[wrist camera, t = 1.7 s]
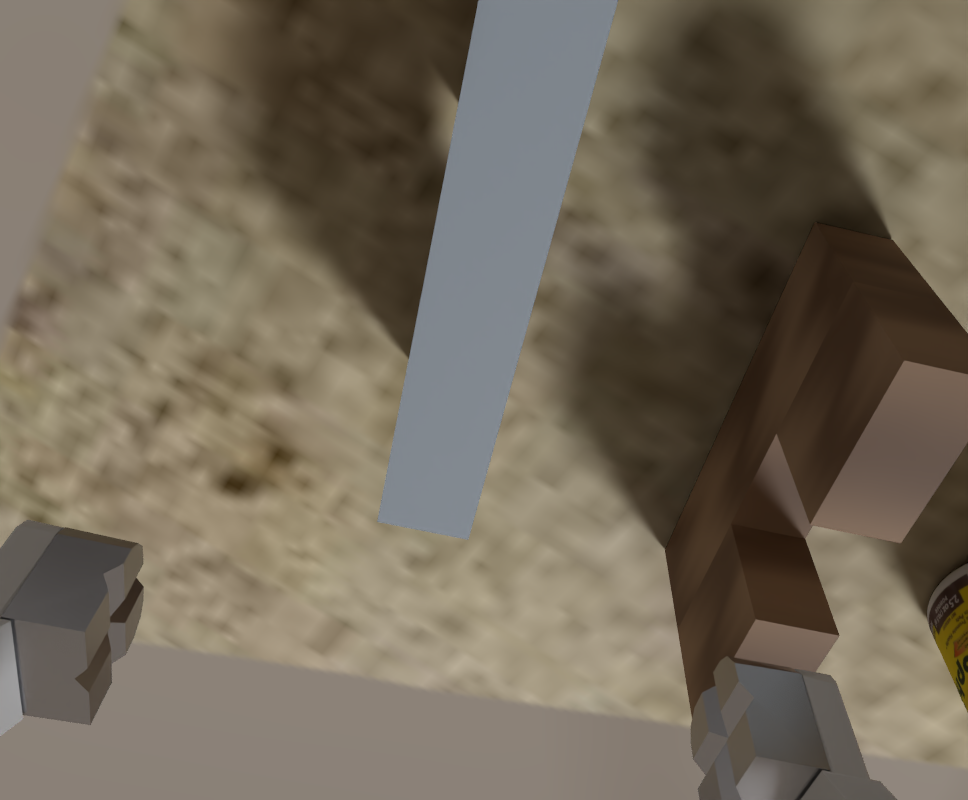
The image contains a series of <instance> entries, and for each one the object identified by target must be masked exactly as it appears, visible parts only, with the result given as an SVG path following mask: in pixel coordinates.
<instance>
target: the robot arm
mask: <svg viewBox="0 0 968 800" xmlns="http://www.w3.org/2000/svg"><path fill="white" fill-rule="evenodd" d="M142 565H143V546H142V545H140V544H139V543H135V542H130V541H126V540H121V539H116V538H112V537H107V536H103V535H98V534H94V533H89V532H84V531H80V530H75V529H71V528H66V527H65V528H64V527H59V526H54V525H50V524H45V523H40V522H36V521H31V520H26V521H25V522H23V523H22V524H20V525H19V526H17V527H16V528H15V529H14V531H13V532H12V533H11V535H10V536H9V537H8V539H7V540H6V542H5V543H4V544H3V546H2V547H1V548H0V736H1V735H2V734H4V733H5V732H6V731H8V730H9V729H10V728H12V727H13V726H14V725H16V724H17V723H18V722H20V721H21V720H22V719H23V715H27V716H34V717H41V718H47V719H55V720H61V721H68V722H74V723H81V724H88V725H91V723H92V721H93V719H94V717H95V715H96V713H97V711H98V709H99V707H100V705H101V703H102V701H103V699H104V697H105V695H106V693H107V691H108V689H109V687H110V685H111V683H112V663H113V662H115V661H116V660H118V659H120V658H121V657H123V656H124V655H126V653H127V651H128V649H129V647H130V644H131V643H132V640H133V638H134V636H135V633H136V630H137V626H138V623H139V620H140V617H141V612H142V606H143V594H144V587H143V585H142V584H141V583H140V582H139V581H138V579H137V578H136V577H137V575H138V573H139V571H140V569H141V567H142ZM713 674H714V679H715V684H716V686H714V687H712V688H710V689H708V690H706V691H704V692H702V694H701V696H700V698H699V700H698V702H697V704H696V706H695V708H694V713H693V718H692V723H691V748H692V754H693V760H694V761H695V762H696V763H697V764H698V766H699V767H700V768H701V770H702V771H703V772H704V774H705V775H706V776H705V777H704V779H703V781H702V783H701V784H700V786H699V788H698V792H699V799H700V800H897V799H896V798H895V797H894V796H893V795H892V793H891V792H890V791H888V789H887V788H886V787H885V786H884V785H883V784H882V783H881V782H880V781H876V780H871V779H870V778H869V775H868V772H867V770H866V767H865V764H864V761H863V758H862V755H861V752H860V749H859V746H858V743H857V740H856V738H855V735H854V732H853V729H852V726H851V723H850V720H849V717H848V715H847V712H846V709H845V706H844V703H843V700H842V697H841V694H840V692H839V689H838V686H837V683H836V681H835V680H834V679H833V678H832V677H831V675H827V674H821V673H816V672H811V671H805V670H800V669H792V668H791V667H785V666H779V665H774V664H768V663H763V662H757V661H752V660H746V659H741V658H735V657H730V656H726V657H725V658H723V659H722V660H721V661H720V662H719V664H718V665H717V667H716V669H715V670H714V672H713Z"/></svg>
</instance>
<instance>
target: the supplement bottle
mask: <svg viewBox="0 0 968 800" xmlns="http://www.w3.org/2000/svg"><path fill="white" fill-rule="evenodd" d="M927 618H928V624H929V627H930V630H931V632H932V634H933V637H934V639H935V641H936V644H937V646H938V648H939V650H940V652H941V654H942V656H943V659H944V661H945V663H946V665H947V667H948V670H949V672H950V674H951V676H952V678H953V681H954V683H955V685H956V687H957V689H958V692H959V694H960V697H961V699H962V701H963V703H964V705H965V707H966V709H967V712H968V563H967V564H965V565H963V566H961V567H960V568H958V569H956V570H955V571H953V572H952V573H951V574H949V575H948V576H947V577H946V578H945V579H944V580H943V581H942V582H941V583H940V584H939V585H938V586H937V588H936V589H935V590H934V592H933V594H932V596H931V598H930V601H929V604H928V610H927Z"/></svg>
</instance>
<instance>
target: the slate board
mask: <svg viewBox="0 0 968 800" xmlns="http://www.w3.org/2000/svg"><path fill="white" fill-rule="evenodd" d="M617 2H618V0H478V5H477V11H476V16H475V21H474V26H473V31H472V36H471V42H470V47H469V52H468V57H467V62H466V67H465V73H464V78H463V83H462V88H461V93H460V98H459V103H458V109H457V114H456V119H455V124H454V129H453V134H452V140H451V145H450V150H449V155H448V160H447V165H446V170H445V176H444V181H443V186H442V191H441V196H440V201H439V207H438V212H437V217H436V222H435V227H434V232H433V237H432V243H431V248H430V253H429V258H428V263H427V268H426V274H425V279H424V284H423V289H422V294H421V299H420V304H419V310H418V315H417V320H416V325H415V330H414V335H413V341H412V346H411V351H410V356H409V361H408V366H407V371H406V377H405V382H404V387H403V392H402V397H401V402H400V408H399V413H398V418H397V423H396V428H395V433H394V438H393V444H392V449H391V454H390V459H389V464H388V469H387V475H386V480H385V485H384V490H383V495H382V500H381V505H380V511H379V516H378V521H377V522H381V523H386V524H391V525H396V526H401V527H406V528H411V529H416V530H422V531H427V532H432V533H437V534H442V535H447V536H452V537H457V538H462V539H467V540H468V539H469V535H470V531H471V528H472V524H473V521H474V517H475V513H476V510H477V506H478V503H479V499H480V495H481V492H482V488H483V485H484V481H485V477H486V474H487V470H488V467H489V463H490V459H491V456H492V452H493V449H494V445H495V441H496V438H497V434H498V431H499V427H500V423H501V420H502V416H503V413H504V409H505V405H506V402H507V398H508V395H509V391H510V387H511V384H512V380H513V377H514V373H515V369H516V366H517V362H518V359H519V355H520V351H521V348H522V344H523V341H524V337H525V333H526V330H527V326H528V323H529V319H530V315H531V312H532V308H533V305H534V301H535V297H536V294H537V290H538V287H539V283H540V279H541V276H542V272H543V269H544V265H545V261H546V258H547V254H548V251H549V247H550V243H551V240H552V236H553V233H554V229H555V225H556V222H557V218H558V215H559V211H560V207H561V204H562V200H563V197H564V193H565V189H566V186H567V182H568V179H569V175H570V171H571V168H572V164H573V161H574V157H575V153H576V150H577V146H578V143H579V139H580V135H581V132H582V128H583V125H584V121H585V117H586V114H587V110H588V107H589V103H590V99H591V96H592V92H593V89H594V85H595V81H596V78H597V74H598V71H599V67H600V63H601V60H602V56H603V53H604V49H605V45H606V42H607V38H608V35H609V31H610V27H611V24H612V20H613V17H614V13H615V9H616V6H617Z"/></svg>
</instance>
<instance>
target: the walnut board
mask: <svg viewBox="0 0 968 800" xmlns="http://www.w3.org/2000/svg"><path fill="white" fill-rule="evenodd" d="M967 443H968V333H967V332H966V331H965V330H964V328H963V327H962V326H961V325H960V323H959V322H958V321H957V320H956V318H955V317H954V316H953V315H952V313H951V312H950V311H949V310H948V308H947V307H946V306H945V305H944V303H943V302H942V301H941V300H940V298H939V297H938V296H937V295H936V293H935V292H934V291H933V290H932V288H931V287H930V286H929V285H928V283H927V282H926V281H925V280H924V278H923V277H922V276H921V275H920V273H919V272H918V271H917V270H916V268H915V267H914V266H913V265H912V263H911V262H910V261H909V260H908V258H907V257H906V256H905V255H904V253H903V252H902V251H901V250H900V248H899V247H898V246H897V245H896V243H895V242H894V241H893V240H890V239H886V238H882V237H877V236H873V235H869V234H864V233H860V232H855V231H851V230H847V229H842V228H838V227H834V226H829V225H825V224H821V223H816V222H815V223H814V225H813V227H812V229H811V232H810V234H809V236H808V238H807V240H806V242H805V245H804V247H803V249H802V251H801V253H800V256H799V258H798V260H797V262H796V264H795V267H794V269H793V271H792V273H791V275H790V277H789V280H788V282H787V284H786V286H785V288H784V291H783V293H782V295H781V297H780V299H779V302H778V304H777V306H776V308H775V310H774V313H773V315H772V317H771V319H770V321H769V323H768V326H767V328H766V330H765V332H764V334H763V337H762V339H761V341H760V343H759V345H758V348H757V350H756V352H755V354H754V356H753V359H752V361H751V363H750V365H749V367H748V369H747V372H746V374H745V376H744V378H743V380H742V383H741V385H740V387H739V389H738V391H737V394H736V396H735V398H734V400H733V402H732V404H731V407H730V409H729V411H728V413H727V415H726V418H725V420H724V422H723V424H722V426H721V429H720V431H719V433H718V435H717V437H716V440H715V442H714V444H713V446H712V448H711V450H710V453H709V455H708V457H707V459H706V461H705V464H704V466H703V468H702V470H701V472H700V475H699V477H698V479H697V481H696V483H695V486H694V488H693V490H692V492H691V494H690V496H689V499H688V501H687V503H686V505H685V507H684V510H683V512H682V514H681V516H680V518H679V521H678V523H677V525H676V527H675V529H674V531H673V534H672V536H671V538H670V540H669V542H668V545H667V547H666V549H665V553H666V560H667V566H668V572H669V578H670V584H671V591H672V597H673V603H674V609H675V615H676V622H677V628H678V634H679V640H680V646H681V653H682V659H683V665H684V671H685V677H686V683H687V690H688V696H689V702H690V708H691V714H692V718H693V713H694V708H695V706H696V704H697V702H698V700H699V698H700V696H701V694H702V692H704V691H706V690H708V689H710V688H712V687H714V686H716V684H715V679H714V674H713V672H714V670H715V669H716V667H717V665H718V664H719V662H720V661H721V660H722V659H723V658H725V657H726V656H730V657H735V658H741V659H746V660H752V661H757V662H763V663H768V664H774V665H779V666H785V667H791V668H792V669H800V670H805V671H811V672H816V670H817V669H818V667H819V666H820V664H821V663H822V661H823V660H824V658H825V657H826V655H827V654H828V652H829V651H830V649H831V648H832V646H833V645H834V643H835V642H836V640H837V639H838V637H839V633H838V630H837V627H836V625H835V622H834V619H833V616H832V613H831V611H830V608H829V605H828V602H827V599H826V596H825V594H824V591H823V588H822V585H821V582H820V580H819V577H818V574H817V571H816V568H815V565H814V563H813V560H812V557H811V554H810V551H809V548H808V546H807V543H806V540H805V538H806V537H807V535H808V533H809V531H810V530H811V528H812V526H813V525H814V526H818V527H823V528H828V529H833V530H838V531H843V532H848V533H853V534H858V535H863V536H867V537H872V538H877V539H882V540H887V541H892V542H897V543H901V542H902V541H903V539H904V538H905V536H906V535H907V533H908V532H909V530H910V529H911V527H912V526H913V524H914V523H915V521H916V520H917V518H918V517H919V515H920V514H921V512H922V511H923V509H924V508H925V506H926V505H927V503H928V502H929V500H930V499H931V497H932V496H933V494H934V493H935V491H936V490H937V488H938V487H939V485H940V484H941V482H942V481H943V479H944V478H945V476H946V475H947V473H948V472H949V470H950V469H951V467H952V466H953V464H954V463H955V461H956V459H957V458H958V456H959V455H960V453H961V452H962V450H963V449H964V447H965V446H966V444H967Z"/></svg>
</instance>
